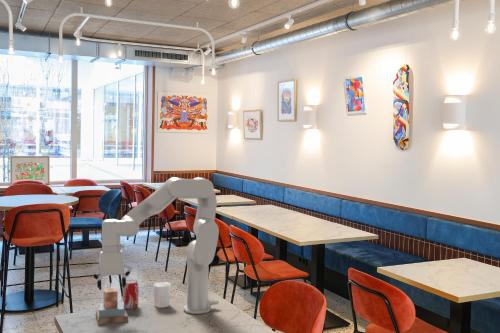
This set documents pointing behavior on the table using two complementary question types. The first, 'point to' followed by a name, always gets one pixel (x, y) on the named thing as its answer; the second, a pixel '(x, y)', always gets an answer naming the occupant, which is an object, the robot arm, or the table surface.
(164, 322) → the table surface
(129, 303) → the soda can
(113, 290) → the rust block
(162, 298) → the white cup
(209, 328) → the table surface
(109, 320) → the base block
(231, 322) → the table surface
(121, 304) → the top block
